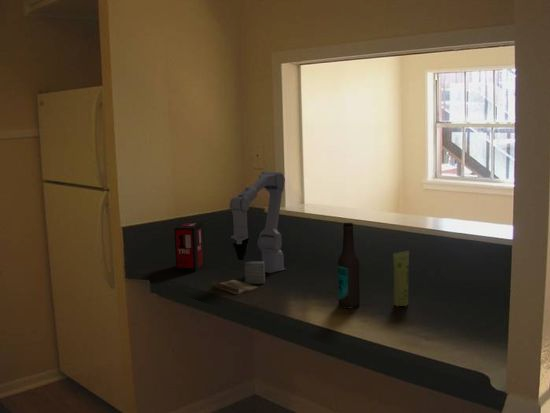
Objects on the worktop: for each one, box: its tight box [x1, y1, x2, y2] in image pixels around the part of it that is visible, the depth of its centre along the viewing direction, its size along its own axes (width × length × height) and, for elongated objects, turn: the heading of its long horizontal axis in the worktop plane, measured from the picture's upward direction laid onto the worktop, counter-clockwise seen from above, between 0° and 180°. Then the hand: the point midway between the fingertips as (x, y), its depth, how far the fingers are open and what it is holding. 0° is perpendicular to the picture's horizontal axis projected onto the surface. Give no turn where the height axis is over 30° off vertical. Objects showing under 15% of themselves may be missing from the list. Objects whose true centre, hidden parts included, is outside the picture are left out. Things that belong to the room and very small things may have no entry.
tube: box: [392, 250, 410, 307], centre depth 218 cm, size 6×5×20 cm
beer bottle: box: [337, 222, 361, 309], centre depth 219 cm, size 8×8×30 cm
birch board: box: [212, 279, 259, 295], centre depth 248 cm, size 11×16×2 cm
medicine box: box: [244, 260, 266, 285], centre depth 254 cm, size 8×4×9 cm, turn 84°
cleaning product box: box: [173, 221, 206, 273], centre depth 284 cm, size 16×9×20 cm, turn 172°
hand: (241, 257), depth 257 cm, fingers open, 7 cm apart
